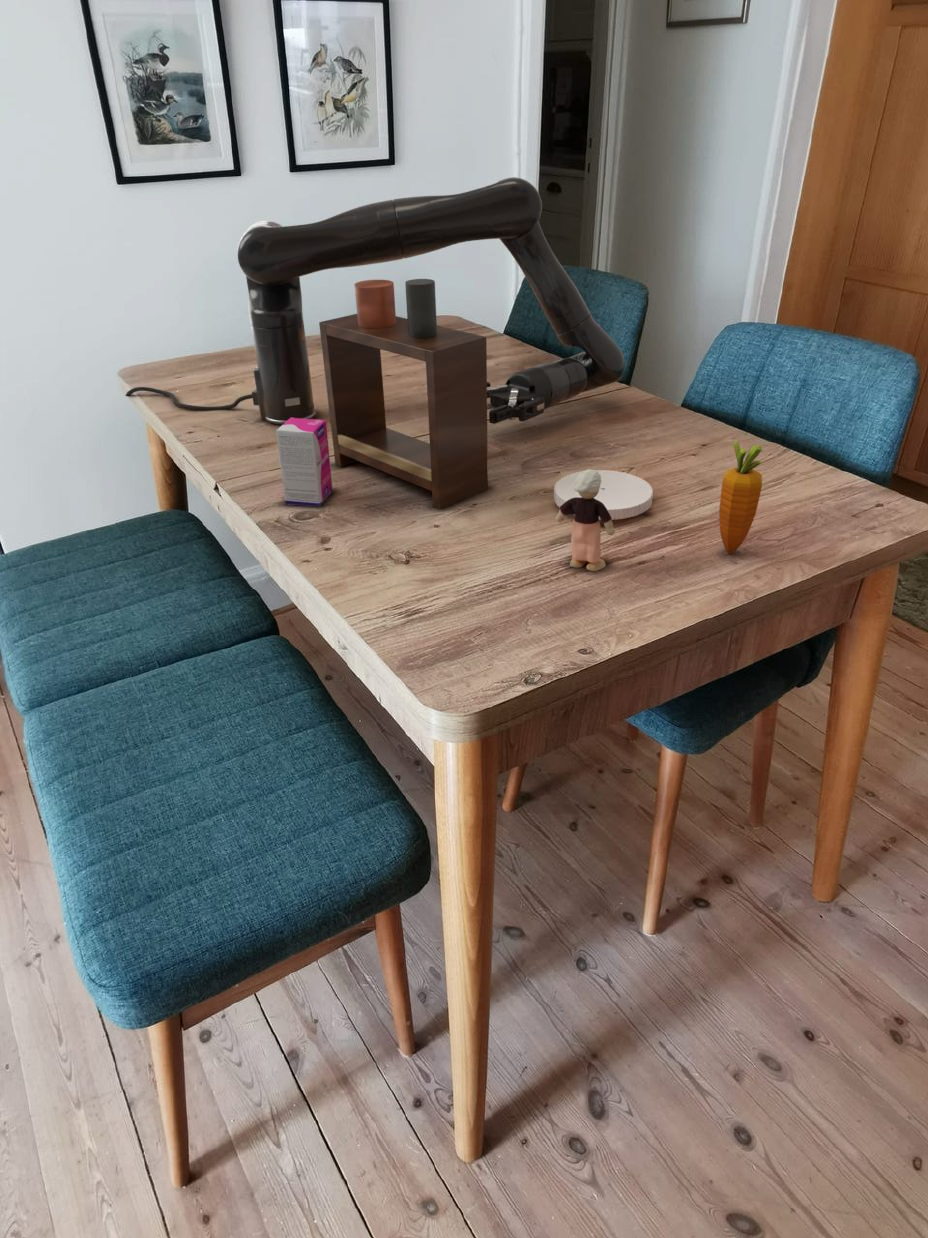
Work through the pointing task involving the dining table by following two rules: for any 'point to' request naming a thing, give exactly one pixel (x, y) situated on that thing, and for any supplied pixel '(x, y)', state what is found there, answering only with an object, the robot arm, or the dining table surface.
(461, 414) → the spice rack
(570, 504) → the grandmother figurine
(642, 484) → the plastic lid
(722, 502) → the carrot
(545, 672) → the dining table surface
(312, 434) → the supplement box
